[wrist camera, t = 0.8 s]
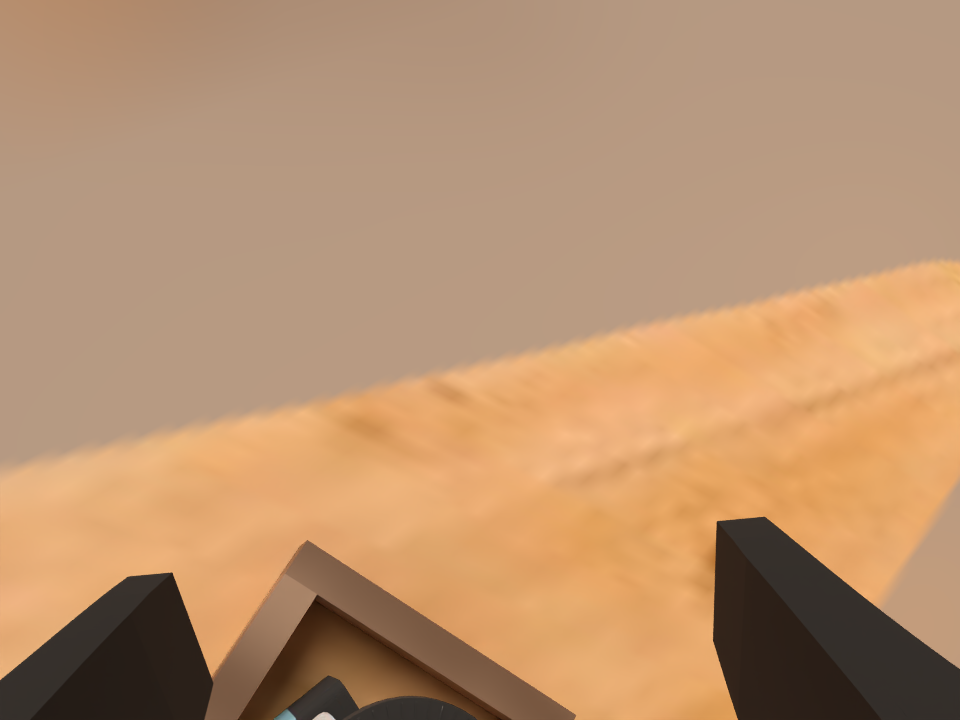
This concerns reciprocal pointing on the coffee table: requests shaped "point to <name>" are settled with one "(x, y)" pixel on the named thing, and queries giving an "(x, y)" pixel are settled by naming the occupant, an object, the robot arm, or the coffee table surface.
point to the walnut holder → (383, 618)
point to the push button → (334, 715)
